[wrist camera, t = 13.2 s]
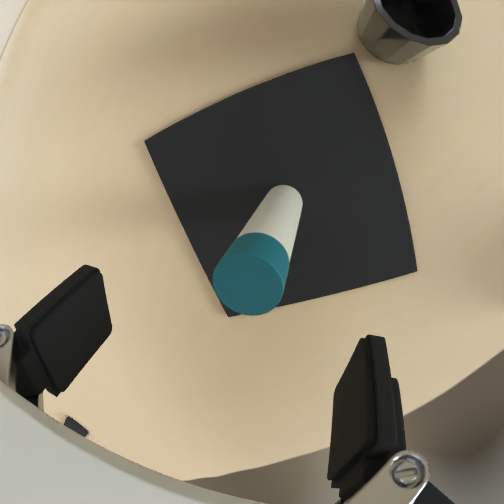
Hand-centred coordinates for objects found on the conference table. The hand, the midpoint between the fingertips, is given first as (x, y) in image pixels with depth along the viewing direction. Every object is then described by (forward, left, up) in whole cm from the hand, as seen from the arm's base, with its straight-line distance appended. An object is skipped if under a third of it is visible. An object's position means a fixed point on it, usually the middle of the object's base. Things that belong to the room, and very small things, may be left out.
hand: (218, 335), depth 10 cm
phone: (+42, -79, -18) cm, 91 cm away
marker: (+1, 0, -18) cm, 18 cm away
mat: (0, 0, -18) cm, 18 cm away
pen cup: (-11, +14, -18) cm, 25 cm away
